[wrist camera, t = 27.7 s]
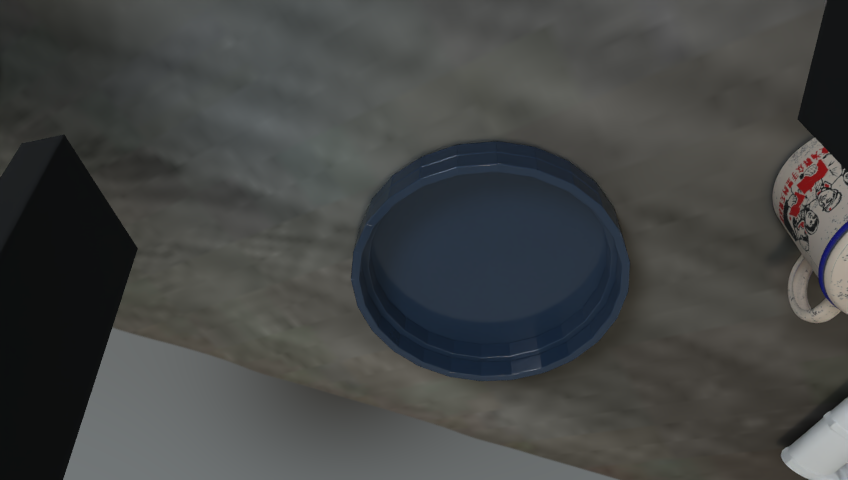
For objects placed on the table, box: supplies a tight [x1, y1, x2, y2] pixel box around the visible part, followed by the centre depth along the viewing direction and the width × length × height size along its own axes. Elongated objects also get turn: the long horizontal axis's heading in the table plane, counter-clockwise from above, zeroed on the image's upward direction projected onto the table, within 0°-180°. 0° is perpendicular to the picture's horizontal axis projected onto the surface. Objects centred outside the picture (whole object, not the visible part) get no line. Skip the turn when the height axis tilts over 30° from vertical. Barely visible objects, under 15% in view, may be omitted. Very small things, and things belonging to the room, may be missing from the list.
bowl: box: [351, 141, 630, 381], centre depth 48 cm, size 19×19×3 cm
